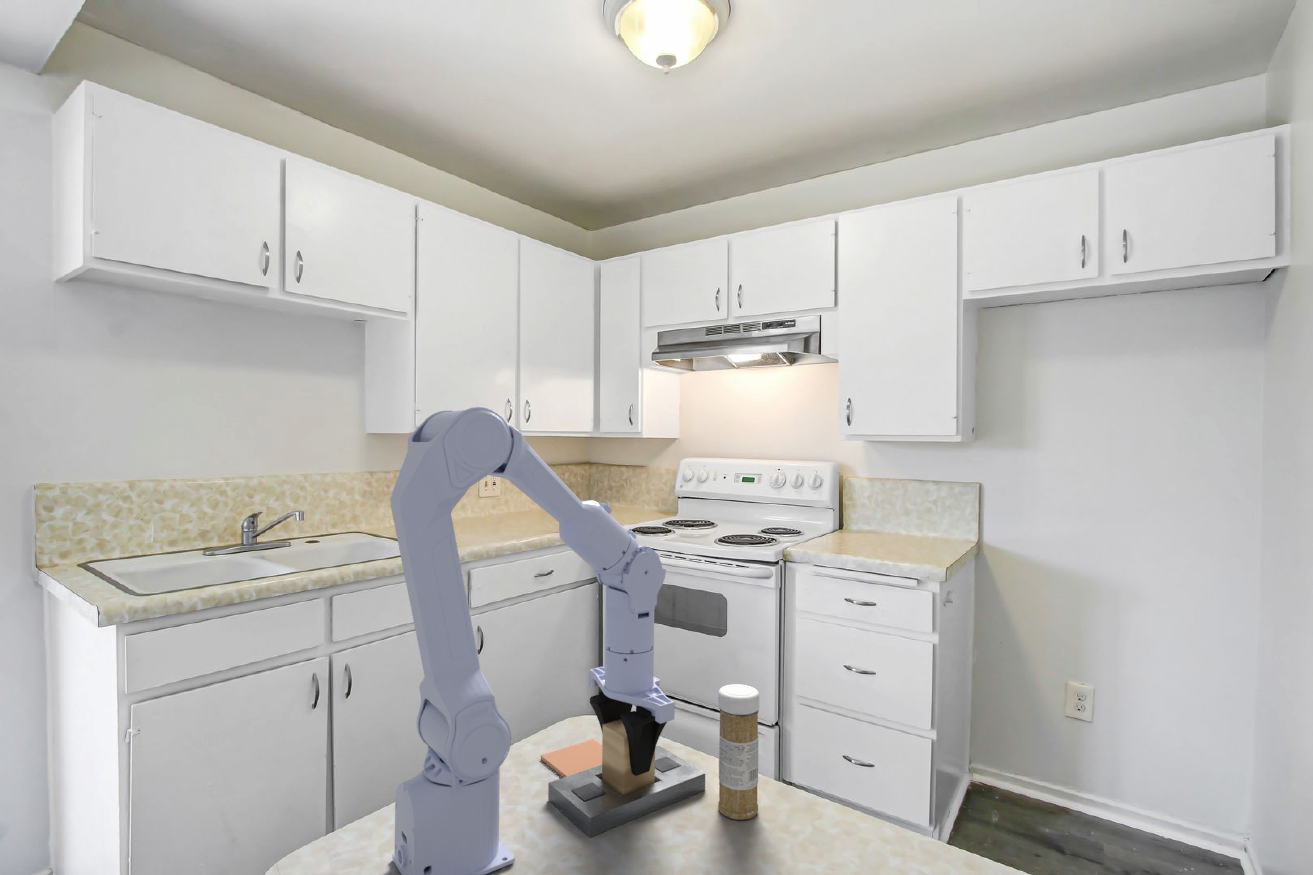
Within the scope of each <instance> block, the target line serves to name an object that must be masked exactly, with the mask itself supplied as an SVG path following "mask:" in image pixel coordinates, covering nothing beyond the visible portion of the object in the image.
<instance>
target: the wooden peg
mask: <svg viewBox="0 0 1313 875" xmlns="http://www.w3.org/2000/svg"><path fill="white" fill-rule="evenodd" d="M601 736H602V738H601V739H602V743H601V745H602V781H603V782H605V783H606V784H607V785H609V786H610V787H611V788H613V789H614V790H615V791H617V792H618V793H619V794H621V795H625V794H627V793H630V792H633V791H635V790H638V789H641V788H643V787H646V786H648V785H651V784H654V783H655V751H654V755H653V759H652V763H651V767H650V770H649V772H646V773H643V774H640V775H637V776H635V775H633V774H632V771H631V766H630V755H629V743H628V738H627V734H626V730H625V727H624V725H623V722H622V720H621V719H620V720H616V721H613V722H610V723H606V724H603V734H602V735H601Z"/></svg>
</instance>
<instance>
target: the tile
mask: <svg viewBox="0 0 1313 875" xmlns="http://www.w3.org/2000/svg"><path fill="white" fill-rule="evenodd" d="M540 760H541V761H543V763H545V764H546V765H547V766H549V767H550V768H551V769H552V770H553V771H554V772H556V773H557V774H559V776H561V777H562V778H564V777H567V776H570V775H573V774H576V773H579V772H582V771H585V770H588V769H591V768H594V767H597V766H600V765H602V743H600V742H598V741H596V740H595V739H589V740H586V741H583V742H580V743H576V744H574V745H570V746H566V747H564V748H561V749H558V750H553V751H551V752H548V753H544V754H542V755H541V754H540Z"/></svg>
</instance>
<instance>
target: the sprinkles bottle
mask: <svg viewBox="0 0 1313 875" xmlns="http://www.w3.org/2000/svg"><path fill="white" fill-rule="evenodd" d="M717 699H718V700H717V703H718V708H719V744H718V745H719V749H718V750H719V751H718V781H719V782H718V784H719V785H718V786H719V788H718V789H719V791H718V792H719V793H718V795H719V796H718V798H719V800H718V804H717V807H718V810H719V811H720V813H721V814H722V815H724V816H725V817H727V818H730V819H731V820H742V821H743V820H749V819H752V818H754V817H755V816H756V815H757V814H758V811H759V804H758V784H759V732H758V729H759V726H758V725H759V721H758V720H759V719H758V718H759V716H758V715H759V711H760V710H759V709H760V692H759V691H758V690H757V688H755V687H754V686H751V685H747V684H742V683H741V684H740V683H735V684H734V683H732V684H727V685H723V686H722V687H720V688H719V689H718V698H717Z"/></svg>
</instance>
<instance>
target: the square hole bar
mask: <svg viewBox="0 0 1313 875" xmlns="http://www.w3.org/2000/svg"><path fill="white" fill-rule="evenodd" d="M547 791H548V792H547V793H548V794H547V796H548V799H547V800H548V802H550V803H551V804H552V805H553V807H555V808H556V809H557V810H559V811H560V812H561V813H562V814H563V815H564V816H565V817H566V818H568V820H570V821H571V823H573V824H574V825H575V826H577V828H578V829H579V830H581V831H582V832H583V833H584V834H585V835H587V837H589V838H591V837H595V836H596V835H599V834H601V833H605V832H607V831H609V830H612V829H614V828H617V827H619V826H621V825H624V824H626V823H629V822H631V821H633V820H636V819H638V818H641V817H644V816H646V815H648V814H650V813H653V812H656V811H659V810H661V809H662V808H665V807H667V806H670V805H672V804H674V803H677V802H679V801H682V800H684V799H687V798H689V797H693V796H694V795H697V794H699V793H701V792H704V791H706V772H704V771H702V770H701V769H700V768H698V767H696V766H694V765H692V764H691V763H689V762H687V761H686V760H684V759H682V758H681V757H679V756H677V755H676V754H674V753H673V752H671V751H669V750H667V749H666V748H664V747H662V746H661V745H656V748H655V783H654V784H651V785H648V786H646V787H643V788H641V789H638V790H635V791H633V792H630V793H627V794H625V795H621V794H619V793H618V792H617V791H615V790H614V789H613V788H611V787H610V786H609V785H607V784H606V783H605V782H603V781H602V765H600V766H597V767H594V768H591V769H588V770H585V771H582V772H579V773H576V774H573V775H570V776H567V777H564V778H563V777H562V778H559V779H556V780H553V781H549V782H548V789H547Z"/></svg>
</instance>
